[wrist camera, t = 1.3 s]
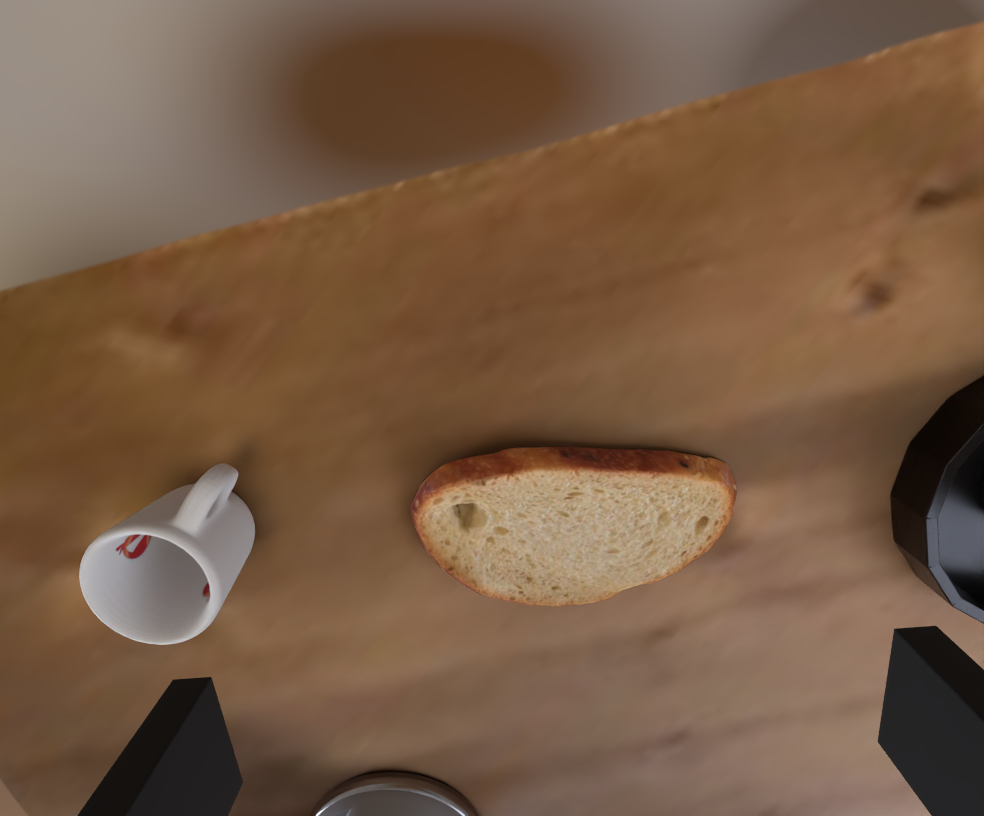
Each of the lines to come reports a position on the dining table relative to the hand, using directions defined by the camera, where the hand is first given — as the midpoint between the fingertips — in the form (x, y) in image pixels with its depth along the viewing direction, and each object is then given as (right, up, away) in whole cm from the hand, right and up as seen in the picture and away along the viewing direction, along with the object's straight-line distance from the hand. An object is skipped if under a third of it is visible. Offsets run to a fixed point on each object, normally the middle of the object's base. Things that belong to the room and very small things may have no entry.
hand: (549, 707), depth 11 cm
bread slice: (+4, -1, +29) cm, 29 cm away
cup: (-20, -1, +29) cm, 35 cm away
